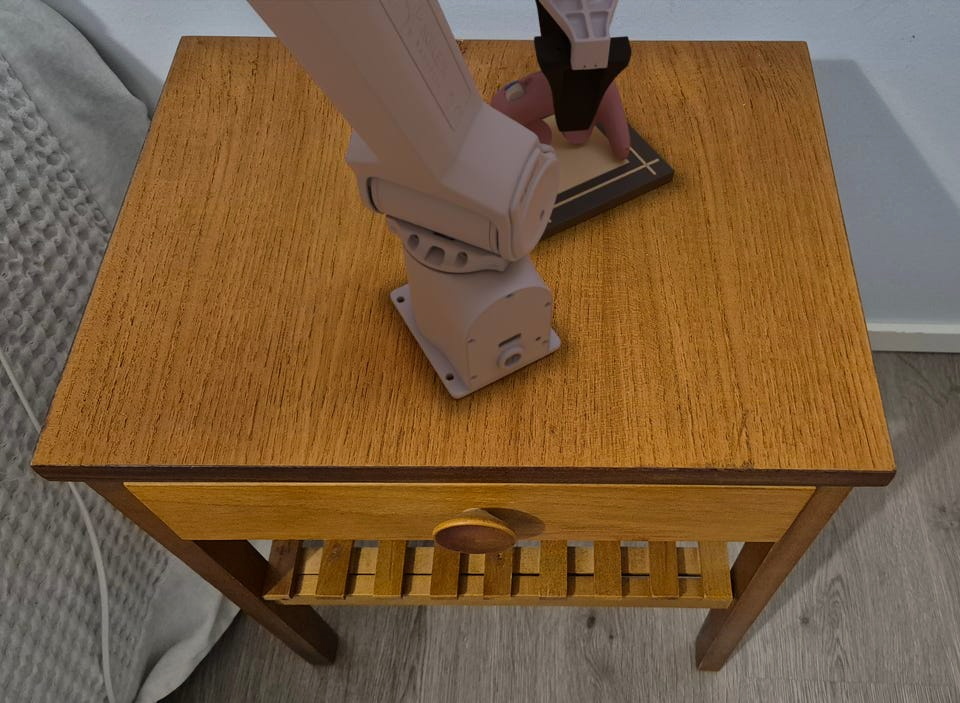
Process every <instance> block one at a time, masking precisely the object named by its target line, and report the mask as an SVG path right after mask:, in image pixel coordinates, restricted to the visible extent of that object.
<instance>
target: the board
mask: <svg viewBox="0 0 960 703" xmlns="http://www.w3.org/2000/svg"><path fill="white" fill-rule="evenodd" d="M540 118H541V119H542V120H543V121H545V122H546V123H547V124H548V125H549V127H550V129H551V131H552V141H551V144H550V145H549V146H551V147H553V149H554V150H555V153H556V157H557V159H558V161H559V164H560V182H559V188H558V192H557V197H556V200H555V204H554V207H553V210H552V213H551V216H550V218H549V221H548V224H547V226H546V228H545V230H544V232H543V234H542V236H541V238H540V240H539V242H541V241H543V240H545V239H547V238H550V237H552V236H554V235H557V234H559V233H561V232H562V231H565V230H568V229H569V228H571V227H574V226H577V225H578V224H580V223H583V222H585V221H587V220H589V219H591V218H593V217H596V216H598V215H600V214H602V213H604V212H607V211H609V210H611V209H613V208H616V207H617V206H619V205H623V203H626V202H628V201H630V200H633V199H635V198H637V197H640V196H642V195H644V194H646V193H648V192H650V191H652V190H655V189H657V188H658V187H661V186H663V185H665V184H668V183H670V182H672V181H673V180H674V175H675V169H673V167H672V166H671V165H670V164H669V163H668V162H667V161H666V160H665V159H664V158H663V157H662V156H661V154H659V153H658V152H657V151H656V150H655V149H654V148H653V147H652V146H651V145H650V144H649V143H648V142H647V141H646V140H645V139H644V138H643V136H641V135H640V133H638V131H637V130H636V129H634V127H633V126H632V125H631V124H629V122H627V125H628V130H629V135H630V151H629V154H628V157H627V158H626V159H625V160H619V159H618V158H617V157H616V155H615V154H614V152H613V150H612V148H611V146H610V144H609V141H608V138H607V136H606V133H605V130H604V129H603V127H602V125H601V124H600V123H599V122H598V121H597V122H596V124H595V126H594V128H593V131H592V133H591V136H590V138H589V139H588V140H587V141H585V142H584V143H581V144H574V143H571V142H569V141H568V140H567V139H566V138H565V137H564V136H563V134H562V132H560V131H559V130H558V127H557V124H556V119H555V114H551V115H547V116H544V117H540Z"/></svg>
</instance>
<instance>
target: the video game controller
mask: <svg viewBox="0 0 960 703" xmlns="http://www.w3.org/2000/svg"><path fill="white" fill-rule="evenodd" d="M489 106H491V107H493V108H494V109H496V110H497V111H499V112H501V113H502V114H504V115H506V116H507V117H509V118H511V119H512V120H514V121H516V122H517V123H519V124H521V125H522V126H524V127H525V128H527V129H529V130H530V131H532V132H533V133H535V134H536V135H537V136H538V139H539V142H540V144H546V145H550V144H551V141H552V131H551V129H550V127H549V125H548V124H547V123H546V122H545V121H543V120H542V119H541V118H540V117H544V116H547V115H551V114H555V113H554V107H553V99H552V91H551V88H550V85H549V82H548V80H547V78H546V77H545V75H544V74H543V73H542V71H541V70H537V71H535V72H532V73H530V74H527V75H525V76H522V77H521V78H519V79H518V80H514V81H511V82H510V83H508V84H507V85H503V86H502V87H500V88H498V90H496V92H495V93H494V94H493V96H492V98H491V100H490V104H489ZM625 112H626V111H625V109H624V105H623V101H622V97H621V94H620V92H619V89H618V86H617V84H616V82H615V80H613V82H612V83H611V84H610V86H609V87H608V89H607V91H606V92H605V94H604V96H603V99H602V101H601V103H600V105H599V108H598V110H597V113H596V115H595V117H594V120H593V122H592V124H591V126H590V128H589V129H588V130H582V131H568V132H562V134H563V136H564V137H565V138H566V139H567V140H568V141H569V142H571V143H574V144H581V143H584V142H585V141H587V140H588V139H589V138H590V136H591V133H592V131H593V128H594V126H595V124H596V122H597V121H598V122H599V123H600V124H601V125H602V127H603V129H604V130H605V133H606V136H607V138H608V141H609V144H610V146H611V148H612V150H613V152H614V154H615V155H616V157H617V158H618V159H619V160H625V159H626V158H627V157H628V154H629V151H630V135H629V130H628V125H627V123H628V121H627V116H626V113H625Z"/></svg>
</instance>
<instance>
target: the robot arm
mask: <svg viewBox="0 0 960 703" xmlns="http://www.w3.org/2000/svg"><path fill="white" fill-rule="evenodd" d="M245 1H246V2H247V3H248V4H249V6H250V7H251V8H252V9H253V10H254V12H255V13H256V14H257V15H258V16H259V18H260V19H261V20H262V21H263V22H264V24H266V26H267V27H268V29H269V30H270V31H271V32H272V33H273V34H274V36H275V37H276V38H277V39H278V40H279V42H280V43H281V44H282V45H283V46H284V47H285V49H286V50H287V51H288V52H289V54H290V55H291V56H292V57H293V58H294V59H295V61H296V62H297V63H298V65H299V66H300V67H301V68H302V69H303V71H305V73H306V74H307V75H308V76H309V78H310V79H311V80H312V81H313V82H314V83H315V85H316V86H317V87H318V88H319V89H320V91H321V92H322V93H323V94H324V95H325V97H326V98H327V99H328V100H329V101H330V103H332V105H333V106H334V107H335V109H336V110H337V111H338V112H339V114H340V115H341V116H342V117H343V118H344V119H345V121H346V122H347V123H348V124H349V125H350V126H351V128H352V129H353V130H352V132H351V135H350V138H349V142H348V146H347V150H346V155H345V158H344V162H345V164H347V166H348V167H349V168H350V169H351V170H352V171H353V174H354V175H355V178H356V184H357V188H358V192H359V197H360V200H361V202H362V204H363V205H364V207H365V208H366V209H367V210H369V211H370V212H372V213H376V214H379V215H380V214H381V215H385V220H386V226H387V230H388V231H389V232H391V233H393V234H394V235H396V236H397V237H398V238H399V239H400V242H401V249H402V253H403V259H404V265H405V271H406V277H407V283H406V284H404V285H401V286H399V287H397V288H395V289H393V290H391V292H390V295H389V296H390V300H391V302H392V304H393V305H394V307H395V309H396V310H397V312H398V314H399V315H400V317H401V319H402V320H403V322H404V323H405V325H406V326H407V328H408V329H409V331H410V333H411V334H412V336H413V337H414V339H415V340H416V342H417V344H418V345H419V347H420V349H421V350H422V352H423V353H424V355H425V356H426V358H427V361H429V363H430V365H431V366H432V368H433V369H434V371H435V373H436V375H437V376H438V378H439V379H440V381H441V383H442V384H443V385H444V387H445V389H446V390H447V392H448V393H449V396H451V397H452V398H453V399H461V398H464V397H466V396H468V395H470V394H471V393H474V392H476V391H478V390H481V389H482V388H484V387H486V386H488V385H490V384H492V383H494V382H496V381H498V380H500V379H502V378H504V377H506V376H508V375H510V374H512V373H515V372H516V371H518V370H521V369H522V368H524V367H526V366H528V365H531V364H532V363H533V362H536V361H538V360H540V359H542V358H544V357H547V356H548V355H550V354H552V353H554V352H556V351H557V350H559V349H560V347H561V344H562V340H561V338H560V337H559V336H558V335H557V333H556V332H555V330H554V329H553V328H552V320H553V319H552V317H553V307H554V306H553V304H554V299H553V294H552V292H551V290H550V288H549V286H548V285H547V284H546V282H545V281H544V279H543V278H542V277H541V275H540V274H539V272H538V270H537V269H536V267H535V265H534V262H533V260H532V258H531V256H530V253H531V252H533V250H534V249H535V248H536V246H538V243H539V242H540V241H539V240H540V238H541V236H542V234H543V232H544V230H545V228H546V226H547V224H548V221H549V218H550V216H551V213H552V210H553V207H554V204H555V200H556V197H557V192H558V188H559V182H560V164H559V161H558V159H557V157H556V153H555V150H554V149H553V147H551V146H549V145H546V144H540V142H539V139H538V136H537V135H536V134H535V133H533V132H532V131H530V130H529V129H527V128H525V127H524V126H522V125H521V124H519V123H517V122H516V121H514V120H512V119H511V118H509V117H507V116H506V115H504V114H502V113H501V112H499V111H497V110H496V109H494V108H493V107H491V106H490V104H488V103H487V102H485V101H484V100H483V98H482V96H481V94H480V92H479V88H478V87H477V85H476V83H475V80H474V78H473V76H472V74H471V71H470V69H469V66H468V65H467V63H466V61H465V58H464V56H463V54H462V51H461V49H460V46H459V45H458V42H457V40H456V38H455V35H454V33H453V31H452V29H451V27H450V24H449V22H448V19H447V17H446V16H445V13H444V11H443V9H442V6H441V4H440V2H439V0H245ZM534 1H535V6H536V10H537V15H538V16H537V17H538V24H539V32H540V35H535V36H534V37H533V46H534V52H535V57H536V62H537V63H538V67H539V68H540V71H542V73H543V74H544V75H545V77H546V78H547V80H548V82H549V85H550V88H551V91H552V99H553V107H554V113H555V119H556V124H557V127H558V130H559V131H560V132H568V131H582V130H588V129H589V128H590V126H591V124H592V122H593V120H594V117H595V115H596V113H597V110H598V108H599V105H600V103H601V101H602V99H603V96H604V94H605V92H606V91H607V89H608V87H609V86H610V84H611V83H612V82H613V81H615V79H616V78H617V77H618V76H619V75H620V74H621V73H622V72H623V71H624V70H625V69H626V68H627V67H629V64H630V61H631V58H632V52H633V51H632V46H631V42H630V39H629V36H628V35H627V36H626V35H625V36H612V37H611V35H610V29H611V28H610V27H611V25H612V21H613V18H614V15H615V12H616V9H617V7H618V3H619V0H534ZM400 301H402V302H400ZM448 378H453V379H451V380H448Z"/></svg>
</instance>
